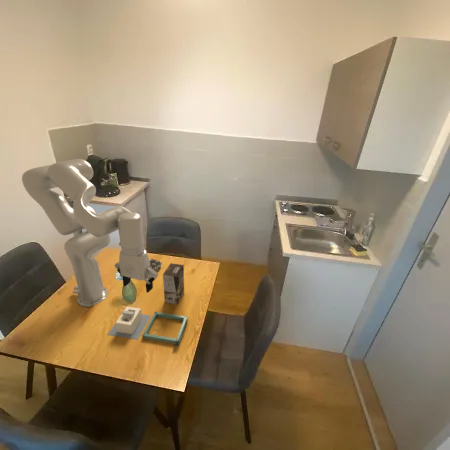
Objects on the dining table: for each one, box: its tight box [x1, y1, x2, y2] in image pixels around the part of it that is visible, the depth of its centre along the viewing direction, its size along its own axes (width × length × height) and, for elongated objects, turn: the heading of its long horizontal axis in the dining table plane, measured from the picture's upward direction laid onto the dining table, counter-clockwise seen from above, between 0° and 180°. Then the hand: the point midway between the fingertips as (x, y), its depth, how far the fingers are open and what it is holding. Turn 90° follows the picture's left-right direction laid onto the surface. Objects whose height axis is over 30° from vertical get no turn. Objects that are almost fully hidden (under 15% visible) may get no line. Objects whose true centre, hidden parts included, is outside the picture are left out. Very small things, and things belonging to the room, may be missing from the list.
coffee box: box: [162, 262, 185, 305], centre depth 112 cm, size 9×6×16 cm
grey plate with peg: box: [107, 309, 152, 341], centre depth 98 cm, size 12×12×8 cm
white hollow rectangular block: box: [115, 306, 143, 334], centre depth 98 cm, size 8×6×5 cm
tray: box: [141, 311, 188, 347], centre depth 99 cm, size 14×12×2 cm
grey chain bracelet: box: [149, 258, 163, 273], centre depth 133 cm, size 11×8×4 cm
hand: (138, 287), depth 93 cm, fingers open, 9 cm apart
